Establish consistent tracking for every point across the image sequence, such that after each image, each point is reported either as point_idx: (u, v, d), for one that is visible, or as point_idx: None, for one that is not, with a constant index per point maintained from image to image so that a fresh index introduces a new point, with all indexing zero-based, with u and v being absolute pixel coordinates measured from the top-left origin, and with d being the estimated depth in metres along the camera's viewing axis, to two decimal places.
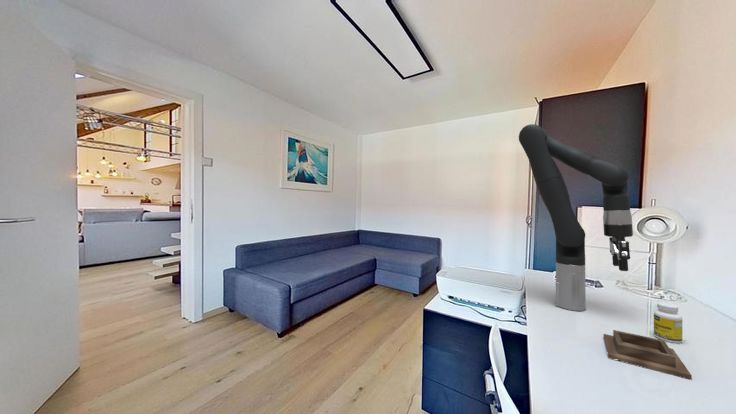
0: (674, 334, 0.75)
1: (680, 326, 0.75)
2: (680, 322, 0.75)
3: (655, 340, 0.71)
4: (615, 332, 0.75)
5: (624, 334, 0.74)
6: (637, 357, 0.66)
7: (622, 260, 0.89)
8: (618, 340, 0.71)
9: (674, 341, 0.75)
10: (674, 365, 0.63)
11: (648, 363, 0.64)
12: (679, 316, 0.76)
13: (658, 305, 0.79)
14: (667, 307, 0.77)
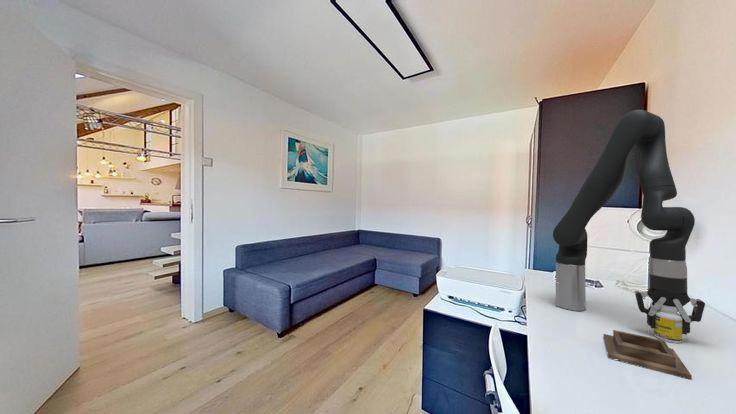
0: (674, 334, 0.75)
1: (680, 326, 0.75)
2: (680, 322, 0.75)
3: (655, 340, 0.71)
4: (615, 332, 0.75)
5: (624, 334, 0.74)
6: (637, 357, 0.66)
7: None
8: (618, 340, 0.71)
9: (674, 341, 0.75)
10: (674, 365, 0.63)
11: (648, 363, 0.64)
12: (679, 316, 0.76)
13: None
14: (667, 307, 0.77)
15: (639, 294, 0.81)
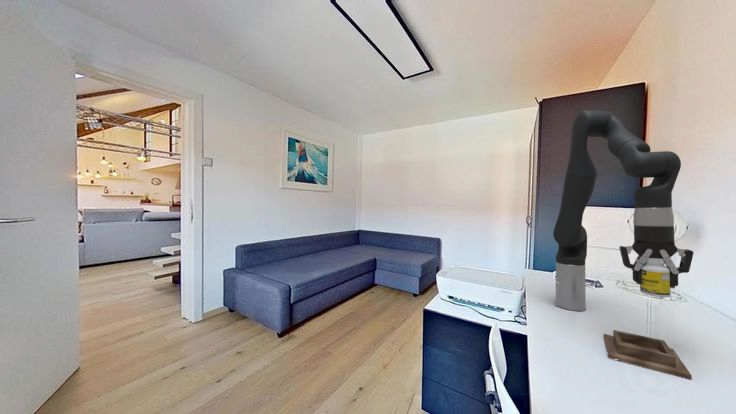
0: (661, 288, 0.69)
1: (668, 279, 0.69)
2: (668, 274, 0.69)
3: (655, 340, 0.71)
4: (615, 332, 0.75)
5: (624, 334, 0.74)
6: (637, 357, 0.66)
7: None
8: (618, 340, 0.71)
9: (662, 295, 0.69)
10: (674, 365, 0.63)
11: (648, 363, 0.64)
12: (666, 268, 0.70)
13: None
14: (653, 259, 0.71)
15: (624, 248, 0.75)
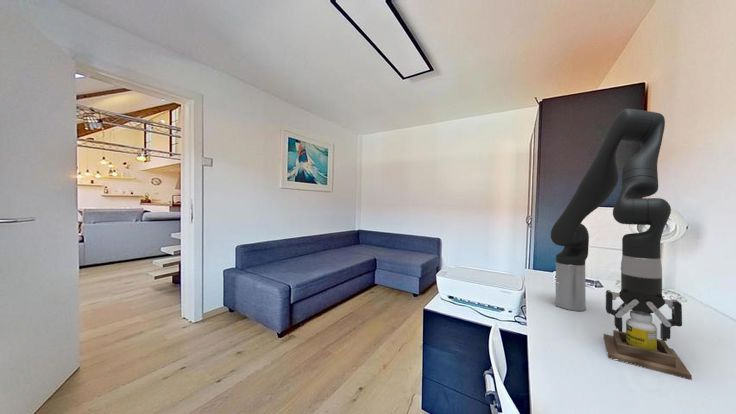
0: (647, 347, 0.67)
1: (654, 338, 0.67)
2: (654, 333, 0.67)
3: None
4: (615, 332, 0.75)
5: (624, 334, 0.74)
6: (637, 357, 0.66)
7: None
8: (618, 340, 0.71)
9: None
10: (674, 365, 0.63)
11: (648, 363, 0.64)
12: (653, 326, 0.67)
13: (631, 313, 0.70)
14: (640, 316, 0.68)
15: (610, 294, 0.72)
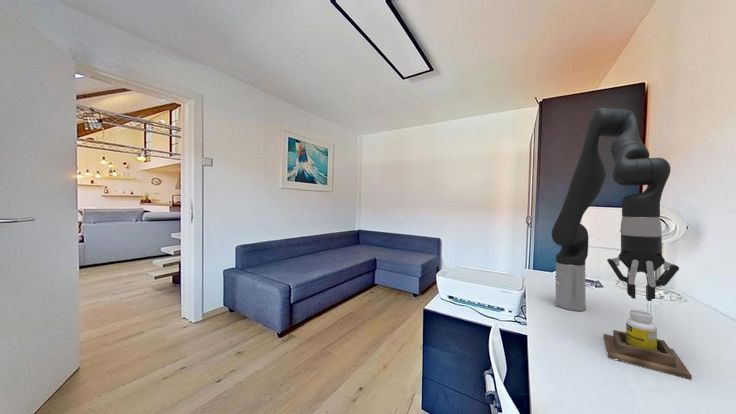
0: (647, 347, 0.67)
1: (654, 337, 0.67)
2: (654, 333, 0.67)
3: None
4: (615, 332, 0.75)
5: (624, 334, 0.74)
6: (637, 357, 0.66)
7: None
8: (618, 340, 0.71)
9: None
10: (674, 365, 0.63)
11: (648, 363, 0.64)
12: (653, 326, 0.67)
13: (631, 313, 0.70)
14: (640, 316, 0.68)
15: (611, 261, 0.72)
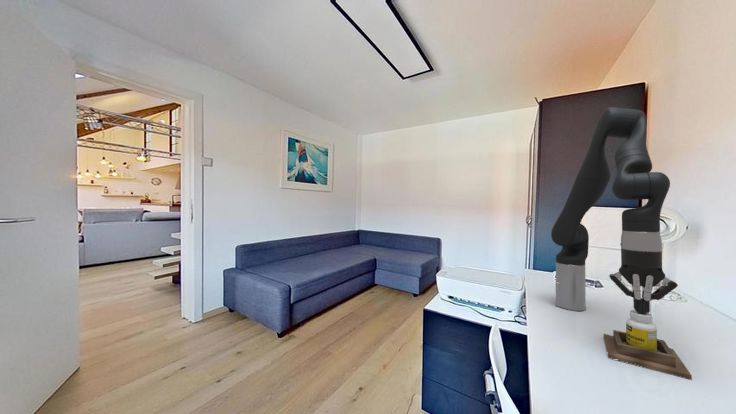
0: (647, 347, 0.67)
1: (654, 338, 0.67)
2: (654, 333, 0.67)
3: None
4: (615, 332, 0.75)
5: (624, 334, 0.74)
6: (637, 357, 0.66)
7: None
8: (618, 340, 0.71)
9: None
10: (674, 365, 0.63)
11: (648, 363, 0.64)
12: (653, 326, 0.67)
13: (631, 313, 0.70)
14: (640, 316, 0.68)
15: (613, 277, 0.72)
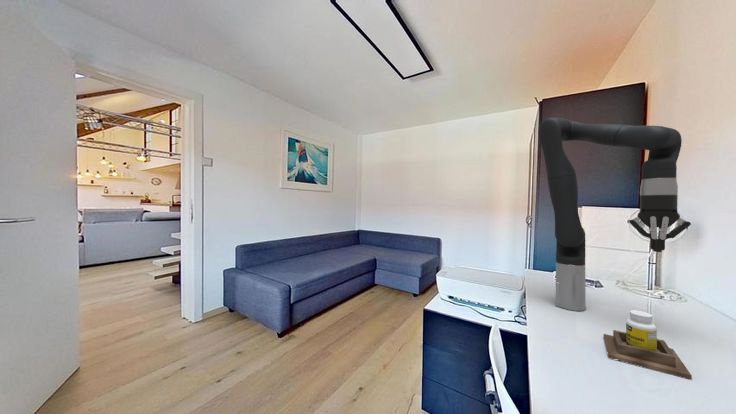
0: (647, 347, 0.67)
1: (654, 338, 0.67)
2: (654, 333, 0.67)
3: None
4: (615, 332, 0.75)
5: (624, 334, 0.74)
6: (637, 357, 0.66)
7: None
8: (618, 340, 0.71)
9: None
10: (674, 365, 0.63)
11: (648, 363, 0.64)
12: (653, 326, 0.67)
13: (631, 313, 0.70)
14: (639, 316, 0.68)
15: (632, 221, 0.81)
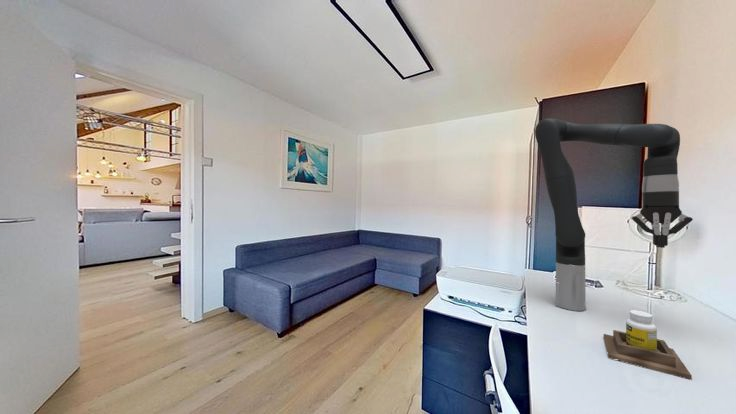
0: (647, 347, 0.67)
1: (654, 338, 0.67)
2: (654, 333, 0.67)
3: None
4: (615, 332, 0.75)
5: (624, 334, 0.74)
6: (637, 357, 0.66)
7: None
8: (618, 340, 0.71)
9: None
10: (674, 365, 0.63)
11: (648, 363, 0.64)
12: (653, 326, 0.67)
13: (631, 313, 0.70)
14: (639, 316, 0.68)
15: (635, 217, 0.83)
